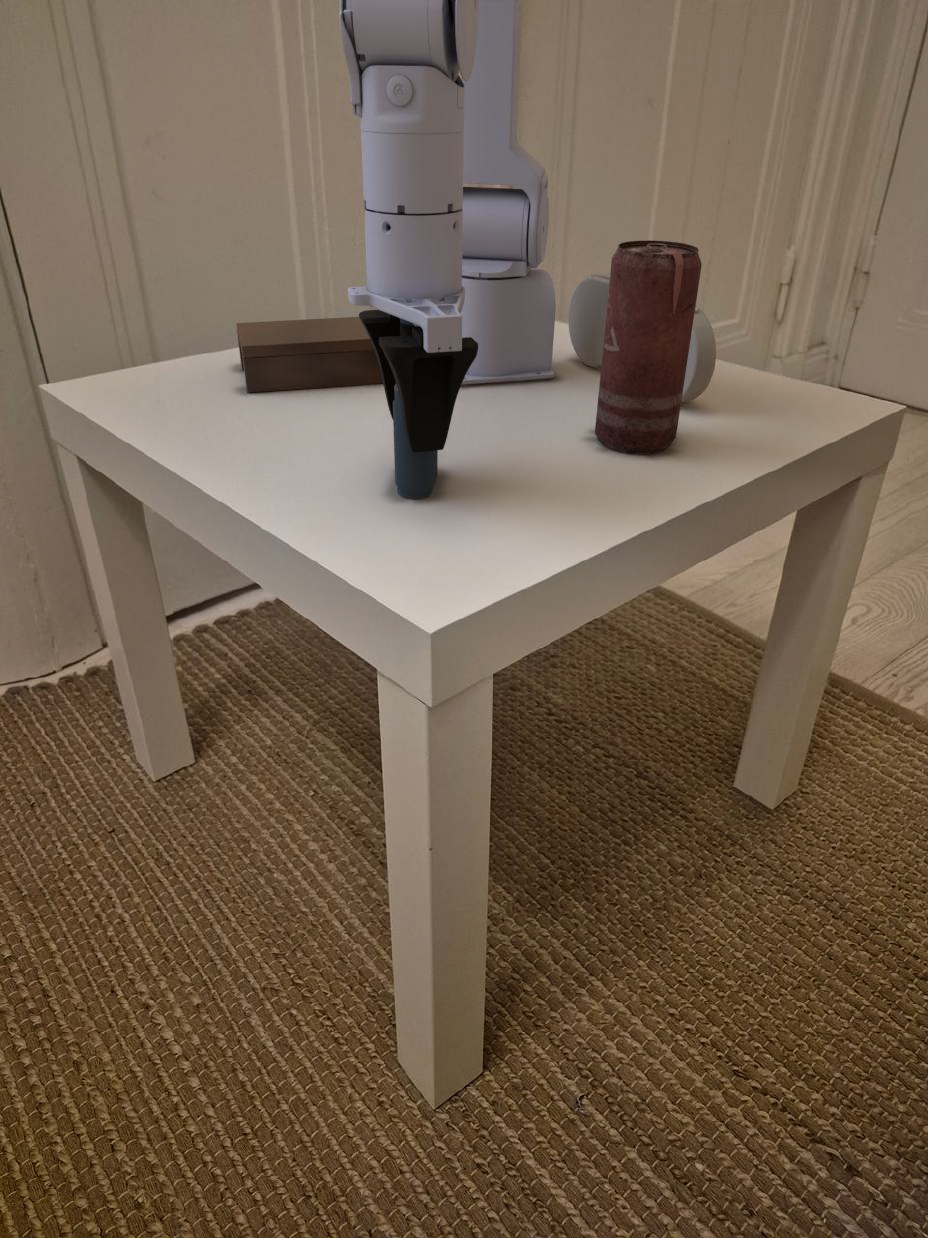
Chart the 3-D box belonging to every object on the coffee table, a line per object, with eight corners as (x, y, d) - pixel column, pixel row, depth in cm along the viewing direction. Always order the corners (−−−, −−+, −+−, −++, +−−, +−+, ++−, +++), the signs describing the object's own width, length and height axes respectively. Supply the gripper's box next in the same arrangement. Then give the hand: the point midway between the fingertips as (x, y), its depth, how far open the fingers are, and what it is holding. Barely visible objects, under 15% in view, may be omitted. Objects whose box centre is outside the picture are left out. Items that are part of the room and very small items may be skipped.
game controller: (710, 412, 74) (727, 309, 69) (688, 416, 73) (704, 312, 69) (584, 352, 89) (591, 264, 84) (564, 355, 88) (571, 266, 83)
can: (627, 462, 64) (652, 256, 57) (578, 434, 69) (595, 240, 62) (693, 449, 67) (725, 250, 59) (641, 422, 71) (665, 235, 64)
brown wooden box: (374, 358, 86) (372, 315, 84) (391, 382, 79) (389, 337, 77) (241, 366, 83) (236, 322, 81) (247, 392, 76) (241, 346, 74)
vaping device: (441, 470, 63) (441, 292, 56) (431, 501, 58) (430, 312, 52) (404, 468, 63) (400, 291, 56) (392, 499, 58) (386, 311, 52)
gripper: (326, 193, 56) (339, 403, 63) (367, 230, 44) (377, 482, 52) (434, 191, 58) (435, 395, 65) (501, 226, 46) (493, 471, 53)
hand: (416, 433), depth 59 cm, fingers closed on vaping device, 5 cm apart
